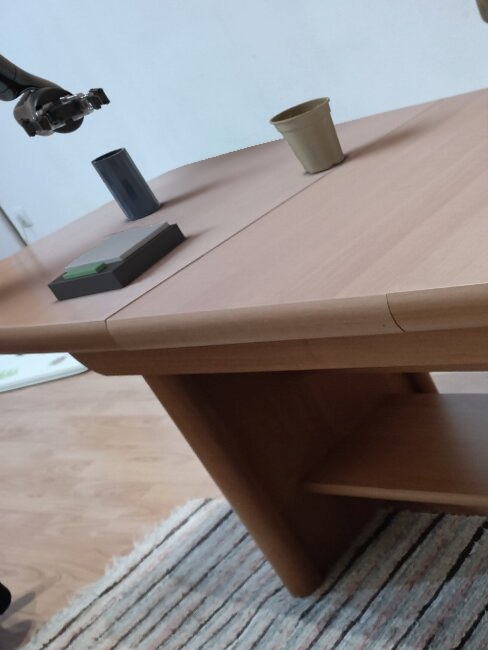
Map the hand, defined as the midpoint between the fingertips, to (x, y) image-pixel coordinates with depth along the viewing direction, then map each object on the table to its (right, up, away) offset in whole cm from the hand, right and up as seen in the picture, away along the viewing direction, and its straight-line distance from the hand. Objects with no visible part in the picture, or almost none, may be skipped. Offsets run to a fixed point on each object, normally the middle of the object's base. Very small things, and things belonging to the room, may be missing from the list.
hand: (71, 113), depth 143 cm
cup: (+11, -16, +1) cm, 20 cm away
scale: (+21, -31, -23) cm, 44 cm away
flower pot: (+45, -12, -10) cm, 48 cm away
